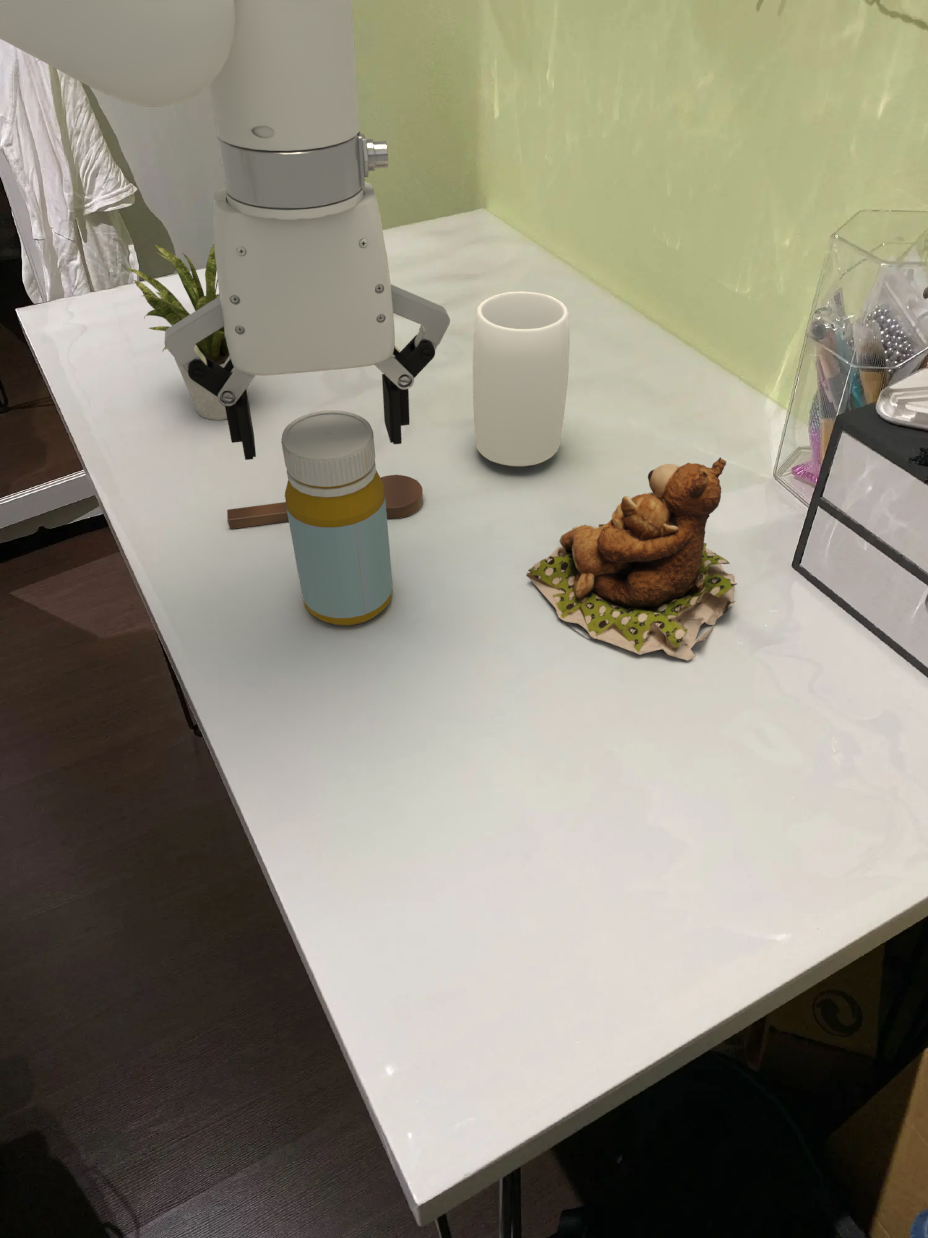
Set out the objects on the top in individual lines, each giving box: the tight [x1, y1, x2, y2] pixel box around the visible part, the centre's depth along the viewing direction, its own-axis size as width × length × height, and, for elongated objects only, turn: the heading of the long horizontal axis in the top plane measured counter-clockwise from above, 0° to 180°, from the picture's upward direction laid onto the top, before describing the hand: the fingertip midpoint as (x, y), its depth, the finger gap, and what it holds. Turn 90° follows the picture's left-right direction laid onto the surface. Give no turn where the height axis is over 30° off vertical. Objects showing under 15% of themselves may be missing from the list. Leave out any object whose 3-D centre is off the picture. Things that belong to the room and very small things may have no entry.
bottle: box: [280, 410, 393, 627], centre depth 66 cm, size 7×7×15 cm
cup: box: [472, 291, 571, 467], centre depth 81 cm, size 8×8×14 cm
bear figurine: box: [525, 457, 738, 662], centre depth 67 cm, size 14×15×12 cm
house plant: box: [122, 243, 249, 421], centre depth 88 cm, size 14×14×16 cm
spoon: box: [226, 474, 424, 530], centre depth 79 cm, size 17×5×1 cm, turn 102°
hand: (322, 441), depth 61 cm, fingers open, 9 cm apart
